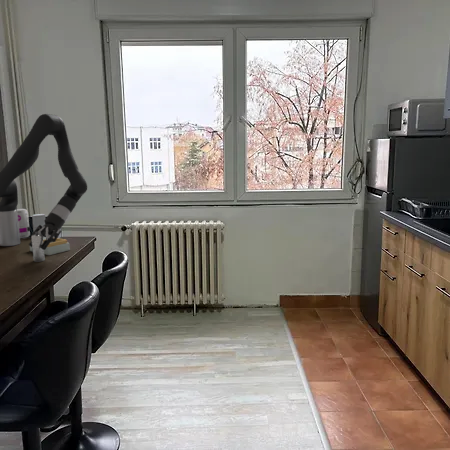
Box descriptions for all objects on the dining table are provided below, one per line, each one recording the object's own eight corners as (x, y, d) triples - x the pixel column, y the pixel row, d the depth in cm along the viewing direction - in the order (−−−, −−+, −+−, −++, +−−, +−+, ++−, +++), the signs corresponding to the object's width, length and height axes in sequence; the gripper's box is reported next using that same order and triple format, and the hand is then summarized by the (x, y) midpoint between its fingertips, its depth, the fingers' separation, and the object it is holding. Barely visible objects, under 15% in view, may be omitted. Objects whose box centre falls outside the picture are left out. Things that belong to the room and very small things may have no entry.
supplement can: (22, 238, 224) (19, 211, 221) (9, 238, 226) (6, 210, 224) (33, 235, 231) (30, 208, 229) (21, 234, 234) (18, 208, 231)
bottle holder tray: (30, 250, 198) (29, 240, 197) (51, 246, 207) (50, 236, 206) (48, 255, 189) (47, 244, 188) (70, 250, 198) (69, 239, 197)
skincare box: (35, 237, 226) (32, 215, 224) (33, 236, 229) (31, 214, 227) (47, 236, 229) (45, 214, 227) (45, 235, 233) (43, 213, 231)
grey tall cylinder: (31, 260, 180) (28, 232, 178) (41, 258, 184) (38, 230, 181) (37, 262, 178) (34, 233, 175) (47, 260, 181) (44, 231, 179)
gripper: (42, 210, 187) (20, 240, 180) (61, 213, 180) (39, 244, 172) (54, 220, 193) (33, 250, 186) (73, 223, 185) (52, 254, 178)
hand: (36, 247), depth 179 cm, fingers open, 8 cm apart
